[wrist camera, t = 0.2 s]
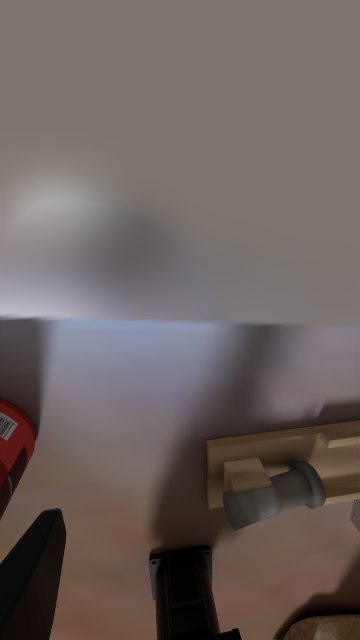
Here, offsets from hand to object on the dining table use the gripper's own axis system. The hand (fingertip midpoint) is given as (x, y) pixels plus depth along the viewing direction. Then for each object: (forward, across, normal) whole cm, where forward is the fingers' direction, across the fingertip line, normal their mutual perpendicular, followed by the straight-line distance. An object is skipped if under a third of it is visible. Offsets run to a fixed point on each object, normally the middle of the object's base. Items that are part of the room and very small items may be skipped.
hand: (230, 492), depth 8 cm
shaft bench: (+14, -16, +15) cm, 26 cm away
